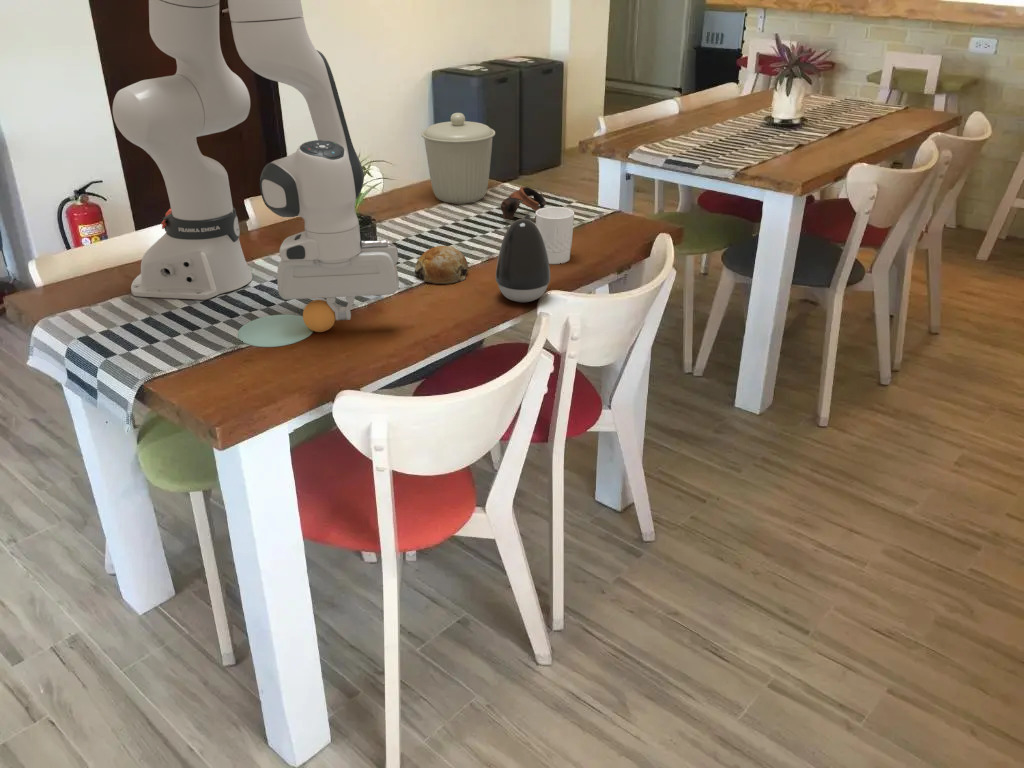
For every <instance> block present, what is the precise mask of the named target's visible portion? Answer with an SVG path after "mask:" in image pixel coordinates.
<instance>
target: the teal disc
mask: <svg viewBox="0 0 1024 768" xmlns="http://www.w3.org/2000/svg"><path fill="white" fill-rule="evenodd" d="M313 333H314V331H312V330H311V329H309V328H308V327H307V326H306V324H305V323H304V320H303V315H297V314H273V315H266V316H263V317H259V318H258V317H257V318H255V319H253V320H250V321H249V322H245V324H244V325H241V327H240V328H239V330H238V331H237V337H238V339H239V340H240V341H241V342H242V341H243V342H242V343H244V344H245V345H249V346H252V347H256V348H257V347H258V348H259V347H260V348H275V347H276V348H278V347H284V346H289V345H292V344H296V343H298V342H302V341H303V340H305V339H307V338H308V337H310V336H311V335H312V334H313Z"/></svg>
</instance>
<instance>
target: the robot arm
mask: <svg viewBox="0 0 1024 768" xmlns="http://www.w3.org/2000/svg"><path fill="white" fill-rule="evenodd" d="M301 1H302V0H227V6H228V12H229V13H228V14H229V18H230V23H231V24H230V25H231V31H232V35H233V36H232V37H233V41H234V44H235V48H236V51H237V53H238V55H239V58H240V59H241V60H242V62H243V63H244V64H245V65H246V66H247V67H248V68H249V69H250V70H251V71H253V72H254V73H255V74H257V75H259V76H261V77H262V78H265V79H268V80H270V81H274V82H277V83H281V84H284V85H286V86H290V87H292V88H293V89H296V90H297V91H298V92H299V93H300V94H301V95H302V96H303V98H304V99H305V102H306V103H307V107H308V111H309V114H310V117H311V121H312V123H313V124H312V125H313V127H314V130H315V134H316V138H317V139H316V140H310V141H306V142H303V143H302V144H301V145H299V146H298V147H297V149H296V151H295V152H293V153H291V154H289V155H288V156H285V157H281V158H278V159H275V160H273V161H271V162H268V163H267V164H266V165H265V166H264V167H263V169H262V171H261V174H260V178H259V188H260V190H259V191H260V195H261V199H262V202H263V203H264V205H265V206H266V207H267V208H268V209H269V210H270V211H271V212H273V213H274V214H275V215H277V216H279V217H282V218H296V217H300V218H302V219H303V220H304V231H301V232H298V233H295V234H293V235H289V236H287V237H286V238H285V239H284V240H283V242H281V244H280V246H279V257H280V259H281V260H280V261H279V263H278V267H277V273H276V274H277V275H276V276H277V279H276V280H277V281H276V282H277V292H278V295H279V296H280V297H281V298H282V299H283V300H286V301H287V300H303V299H304V300H305V299H322V298H323V299H324V298H326V300H325V301H327V304H328V305H329V306H330V308H331V309H332V310H333V311H334V312H335V318H336V320H335V321H348V320H349V321H350V320H351V319H352V318H351V317H352V314H351V313H352V312H351V309H352V307H353V305H354V302H355V299H356V297H367V296H385V295H386V296H387V295H388V296H389V295H395V294H396V293H397V292H398V291H399V288H400V280H399V279H400V278H399V273H398V268H397V263H398V261H399V251H398V247H397V246H396V245H395V244H394V243H392V242H389V240H385V239H381V240H361V233H360V232H361V230H360V222H359V218H358V216H357V213H356V208H355V207H356V201H357V199H358V198H359V196H360V195H361V194H360V193H361V192H362V189H363V186H364V181H365V173H364V170H363V166H362V163H361V161H360V158H359V157H358V154H357V152H356V150H355V148H354V145H353V142H352V138H351V135H350V131H349V126H348V124H347V121H346V117H345V113H344V109H343V106H342V102H341V99H340V96H339V93H338V88H337V84H336V81H335V77H334V75H333V72H332V69H331V67H330V64H329V62H328V60H327V58H326V56H325V55H324V54H323V53H322V52H321V51H319V50H318V49H316V48H315V46H314V44H313V42H312V40H311V38H310V35H309V33H308V30H307V27H306V23H305V18H304V13H303V6H302V5H303V4H302V2H301ZM148 17H149V19H148V20H149V22H148V23H149V35H150V37H151V40H152V41H153V43H154V45H155V46H156V47H157V48H158V49H159V50H160V51H161V52H163V53H164V54H166V55H167V56H169V57H171V58H173V59H175V61H176V72H175V73H174V74H173V75H166V76H161V77H155V78H149V79H143V80H139V81H137V82H135V83H132V84H130V85H127V86H125V87H123V88H121V89H119V90H118V91H116V94H115V96H114V98H113V103H112V117H113V120H114V123H115V126H116V127H117V129H118V131H119V132H120V133H121V135H122V136H123V137H124V138H125V139H126V140H127V141H129V142H130V143H132V144H133V145H135V146H137V147H139V148H141V149H142V150H143V151H145V153H147V154H148V155H149V156H150V157H151V159H152V160H153V161H154V162H155V164H156V165H157V167H158V169H159V171H160V172H161V175H162V178H163V180H164V183H165V188H166V192H167V195H168V200H169V204H170V208H169V209H168V210H167V212H165V216H164V217H163V218H162V222H161V229H162V230H165V233H164V234H163V235H162V236H161V237H160V238H159V239H158V240H156V241H155V242H154V243H153V244H152V245H150V247H149V248H148V249H147V251H145V253H144V254H143V256H142V259H141V263H140V273H139V275H137V276H135V278H134V279H133V281H132V282H131V287H130V289H131V291H130V292H131V294H132V295H133V296H134V297H141V298H142V297H143V298H160V299H161V298H164V299H165V298H166V299H182V300H183V299H184V300H202V301H204V300H209V299H212V298H213V297H216V296H218V295H221V294H225V293H229V292H232V291H236V290H238V289H241V288H242V287H244V286H246V285H248V284H249V283H250V282H251V281H252V280H253V274H252V271H251V270H250V268H249V265H248V262H247V261H246V260H247V259H246V258H245V255H244V252H243V249H242V246H241V242H240V234H241V233H240V225H239V219H238V216H237V212H236V208H235V207H234V206H233V200H232V195H231V189H230V180H229V175H228V172H227V170H226V169H225V167H224V166H223V165H222V164H221V163H220V162H219V161H217V160H215V159H213V158H211V157H209V156H206V155H203V154H202V152H201V150H200V147H199V145H198V143H197V142H198V141H197V138H198V137H199V138H200V137H204V136H208V135H212V134H216V133H222V132H225V131H228V130H229V129H231V128H234V127H236V126H237V125H239V124H242V123H243V122H244V121H245V120H246V119H248V116H249V114H250V111H251V110H250V109H251V97H250V92H249V89H248V87H247V86H246V84H245V82H244V81H243V79H242V78H241V77H240V76H239V75H237V74H236V73H235V72H233V70H231V68H230V67H229V66H228V65H227V63H226V62H227V61H226V60H225V58H224V55H223V53H222V47H221V40H220V38H221V37H220V0H148ZM337 298H345V302H346V303H347V304H346V305H345V306H344V307H340V306H339V304H338V303H337V302H336V300H337Z"/></svg>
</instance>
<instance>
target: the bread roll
mask: <svg viewBox="0 0 1024 768" xmlns="http://www.w3.org/2000/svg"><path fill="white" fill-rule="evenodd" d="M468 266H469V265H468V261H467V258H466V257H465V255H464V254H463V253H462V251H461V250H459V249H456V248H455V247H454V246H452V245H449V246H448V245H447V246H446V245H437V246H434V247H431V248H429V249H426V251H424V252H423V253H422V254H421V256H420V257H419V258H418V259H417V261H416V263H415V267H414V274H415V275H417V276H418V277H420V278H421V279H422V280H421V279H420V278H419V279H420V280H421V281H424V282H425V283H431V284H434V285H438V284H439V285H440V284H441V285H447V284H454V283H458V282H463V281H465V280H466V275H467V274H468V269H469V267H468Z"/></svg>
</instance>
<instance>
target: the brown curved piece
mask: <svg viewBox="0 0 1024 768" xmlns="http://www.w3.org/2000/svg"><path fill="white" fill-rule="evenodd" d="M531 197H532V198H531ZM521 204H522V205H525V206H526V207H527V208H531V209H532V210H533V211H535V212H536V211H537V210H539V209H541V208H545V206H546V205H547V201H546V199H545V197H543V195H542V194H541V193H539V192H538V191H537V190H535V189H533V188H531V187H528V186H520V188H519V189H518V190H515V191H513V192H512V193H510V195H509V196H508V197H505V199H503V200H502V202H501V204H500V208H501V212H502V218H503V220H507V219H509V220H513V219H514V218H515V214H516V212H517V210H518V209H519V208H520V205H521ZM533 219H534V222H536V215H535V217H534V218H533Z"/></svg>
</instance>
